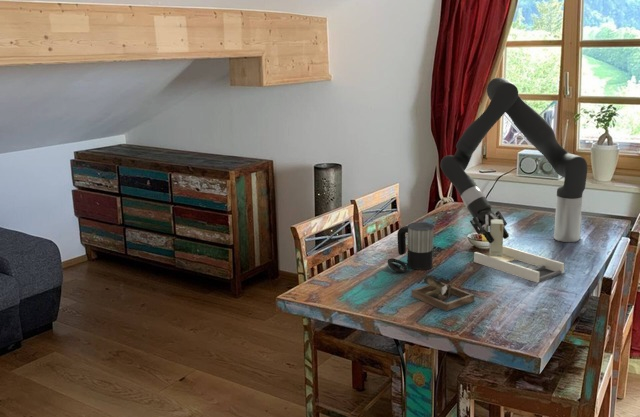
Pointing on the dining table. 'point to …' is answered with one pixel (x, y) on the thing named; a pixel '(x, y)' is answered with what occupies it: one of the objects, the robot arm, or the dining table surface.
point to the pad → (505, 258)
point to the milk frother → (414, 247)
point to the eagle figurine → (437, 287)
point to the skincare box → (496, 238)
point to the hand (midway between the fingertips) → (499, 239)
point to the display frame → (421, 295)
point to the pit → (546, 273)
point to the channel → (517, 269)
